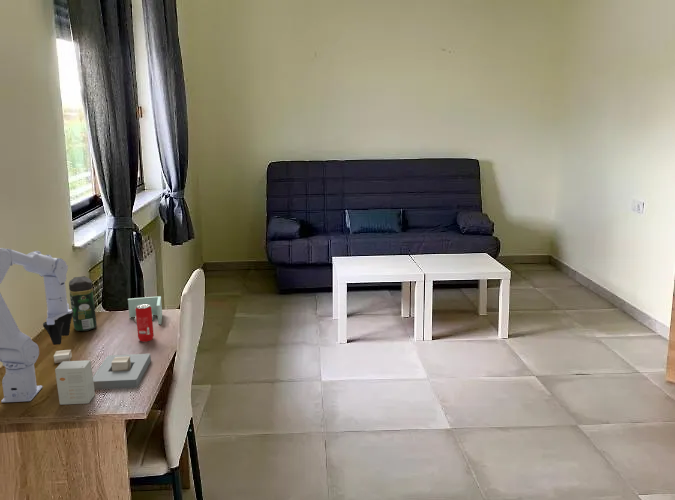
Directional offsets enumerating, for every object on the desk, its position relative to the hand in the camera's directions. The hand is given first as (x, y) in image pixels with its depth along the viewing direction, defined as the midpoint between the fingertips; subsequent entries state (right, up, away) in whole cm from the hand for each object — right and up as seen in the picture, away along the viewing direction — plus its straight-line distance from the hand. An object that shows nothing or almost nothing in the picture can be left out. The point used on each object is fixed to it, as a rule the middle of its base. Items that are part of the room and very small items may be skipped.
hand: (61, 339), depth 203 cm
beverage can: (+18, -4, +26) cm, 32 cm away
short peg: (-3, -8, +10) cm, 13 cm away
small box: (+13, -14, -20) cm, 27 cm away
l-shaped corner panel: (+12, +1, +46) cm, 48 cm away
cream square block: (+20, -10, -3) cm, 22 cm away
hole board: (+20, -10, -3) cm, 22 cm away
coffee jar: (-8, -1, +40) cm, 40 cm away
